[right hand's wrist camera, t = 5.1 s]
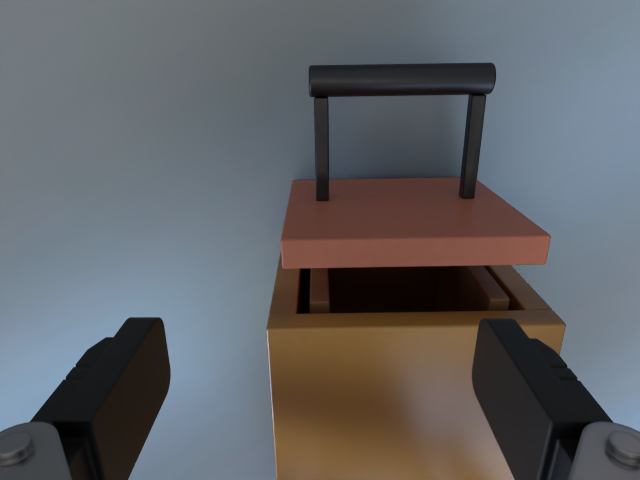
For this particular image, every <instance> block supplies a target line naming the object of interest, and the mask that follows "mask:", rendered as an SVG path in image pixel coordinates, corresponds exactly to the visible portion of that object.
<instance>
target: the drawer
mask: <svg viewBox="0 0 640 480" xmlns="http://www.w3.org/2000/svg"><path fill="white" fill-rule="evenodd" d="M495 81H496V69H495V65H494V64H493V63H442V64H377V65H312V66H309V95H310V97H315V98H314V114H315V169H316V179H313V180H293V181H292V186H291V192H290V197H289V202H288V207H287V212H286V217H285V222H284V227H283V232H282V237H281V257H282V267H283V268H284V269H288V268H311V273H310V314H323V313H387V312H450V311H508V306H509V298H508V296H507V295H506V294H505V293H504V291H503V290H502V289H501V288H500V286H499V285H498V284H497V283H496V281H495V280H494V279H493V278H492V276H491V275H490V274H489V273H488V271H487V270H486V269H485V268H484V266H483V265H541V264H546V260H547V254H548V249H549V243H550V238H551V237H550V235H549V234H548V233H547V232H545V231H544V230H543V229H541V228H540V227H539V226H537V225H536V224H535V223H533V222H532V221H531V220H529V219H528V218H527V217H525V216H524V215H523V214H521V213H520V212H519V211H517V210H516V209H515V208H514V207H512V206H511V205H510V204H508V203H507V202H506V201H504V200H503V199H502V198H500V197H499V196H498V195H496V194H495V193H494V192H492V191H491V190H490V189H488V188H487V187H486V186H484V185H483V184H482V183H480V182H479V181H478V180H477V172H478V163H479V154H480V146H481V137H482V128H483V120H484V111H485V103H486V95H483V94H490V93H491V92H492V90H493V88H494V85H495ZM411 95H469V99H468V108H467V118H466V128H465V138H464V148H463V158H462V167H461V177H441V178H377V179H329V118H328V97H346V96H411Z"/></svg>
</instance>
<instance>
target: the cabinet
mask: <svg viewBox="0 0 640 480" xmlns="http://www.w3.org/2000/svg"><path fill="white" fill-rule="evenodd" d="M483 266H484V268H485V269H486V270H487V271H488V273H489V274H490V275H491V276H492V278H493V279H494V280H495V281H496V283H497V284H498V285H499V286H500V288H501V289H502V290H503V291H504V293H505V294H506V295H507V296H508V298H509V306H508V311H450V312H387V313H323V314H310V273H311V268H288V269H284V268H283V267H282V257H281V253H280V258H279V264H278V269H277V274H276V280H275V285H274V291H273V296H272V301H271V307H270V312H269V318H268V323H267V329H266V332H267V347H268V362H269V377H270V392H271V406H272V421H273V436H274V451H275V465H276V480H514V477H513V475H512V473H511V471H510V469H509V467H508V465H507V462H506V460H505V458H504V456H503V454H502V452H501V449H500V447H499V445H498V443H497V441H496V439H495V437H494V434H493V432H492V430H491V428H490V426H489V424H488V421H487V419H486V417H485V415H484V413H483V411H482V408H481V406H480V404H479V402H478V400H477V398H476V395H475V393H474V389H473V384H472V366H473V359H474V353H475V346H476V339H477V332H478V326H479V323H480V321H481V319H483V318H513V319H515V320H516V321H517V323H518V324H519V325H520V327H521V328H522V329H523V331H524V332H525V333H526V335H527V336H528V337H529V338H537V339H539V340H540V341H542V342H543V343H544V344H546V345H547V346H549V347H550V348H552V349H553V350H555V351H556V352H557V353H558V355H560V350H561V345H562V341H563V336H564V331H565V327H566V324H565V323H564V322H563V320H562V319H561V318H560V317H559V316H558V315H557V314H556V313H555V312H554V311H553V310H552V309H551V308H550V306H549V305H548V304H547V303H546V302H545V301H544V300H543V299H542V298H541V297H540V296H539V295H538V294H537V293H536V292H535V290H534V289H533V288H532V287H531V286H530V285H529V284H528V283H527V282H526V281H525V280H524V279H523V278H522V277H521V276H520V275H519V273H518V272H517V271H516V270H515V269H514V268H513V267H512V266H511V265H483Z"/></svg>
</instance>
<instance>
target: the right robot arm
mask: <svg viewBox="0 0 640 480" xmlns="http://www.w3.org/2000/svg"><path fill="white" fill-rule="evenodd" d="M472 384H473V389H474V393H475V395H476V398H477V400H478V402H479V404H480V406H481V408H482V411H483V413H484V415H485V417H486V419H487V421H488V424H489V426H490V428H491V430H492V432H493V434H494V437H495V439H496V441H497V443H498V445H499V447H500V449H501V452H502V454H503V456H504V458H505V460H506V462H507V465H508V467H509V469H510V471H511V473H512V475H513V477H514V480H640V432H639V431H637V430H635V429H632V428H630V427H627V426H624V425H621V424H617V423H613V421H612V420H611V419H610V418H609V416H608V415H607V414H606V413H605V412H604V410H603V409H602V408H601V407H600V405H599V404H598V403H597V402H596V400H595V399H594V398H593V397H592V395H591V394H590V393H589V392H588V391H587V389H586V388H585V387H584V386H583V384H582V383H581V382H580V381H577V377H576V376H575V374H574V373H573V372H572V371H571V370H570V368H567V365H566V363H565V362H564V361H563V360H562V358H561V357H560V356H559V355H558V353H557V352H556V351H555V350H553V349H552V348H550V347H549V346H547V345H546V344H544V343H543V342H542V341H540V340H539V339H537V338H529V337H528V336H527V335H526V333H525V332H524V331H523V329H522V328H521V327H520V325H519V324H518V323H517V321H516V320H515V319H513V318H483V319H481V321H480V323H479V326H478V332H477V339H476V346H475V353H474V359H473V366H472ZM169 385H170V363H169V356H168V350H167V343H166V336H165V329H164V324H163V321H162V319H161V318H159V317H131V318H128V319H127V320H126V321H125V323H124V324H123V325H122V327H121V328H120V329H119V331H118V332H117V333H116V335H115V336H114V337H106V338H104V339H103V340H101V341H100V342H98V343H97V344H95V345H94V346H93V347H91V348H90V349H88V350H87V351H86V352H85V354H84V355H83V356H82V357H81V359H80V360H79V361H78V362H77V364H76V367H73V369H72V370H71V371H70V372H69V374H68V375H67V376H66V380H63V381H62V382H61V384H60V385H59V386H58V387H57V389H56V390H55V391H54V392H53V394H52V395H51V396H50V397H49V398H48V400H47V401H46V402H45V403H44V405H43V406H42V407H41V408H40V410H39V411H38V412H37V413H36V415H35V416H34V417H33V418H32V420H31V421H30V422H28V423H23V424H19V425H16V426H13V427H10V428H8V429H5V430H3V431H1V432H0V480H128V478H129V476H130V474H131V472H132V470H133V467H134V465H135V463H136V461H137V459H138V456H139V454H140V452H141V450H142V448H143V446H144V443H145V441H146V439H147V437H148V435H149V432H150V430H151V428H152V426H153V424H154V421H155V419H156V417H157V415H158V413H159V411H160V408H161V406H162V404H163V402H164V400H165V397H166V395H167V393H168V389H169Z"/></svg>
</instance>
